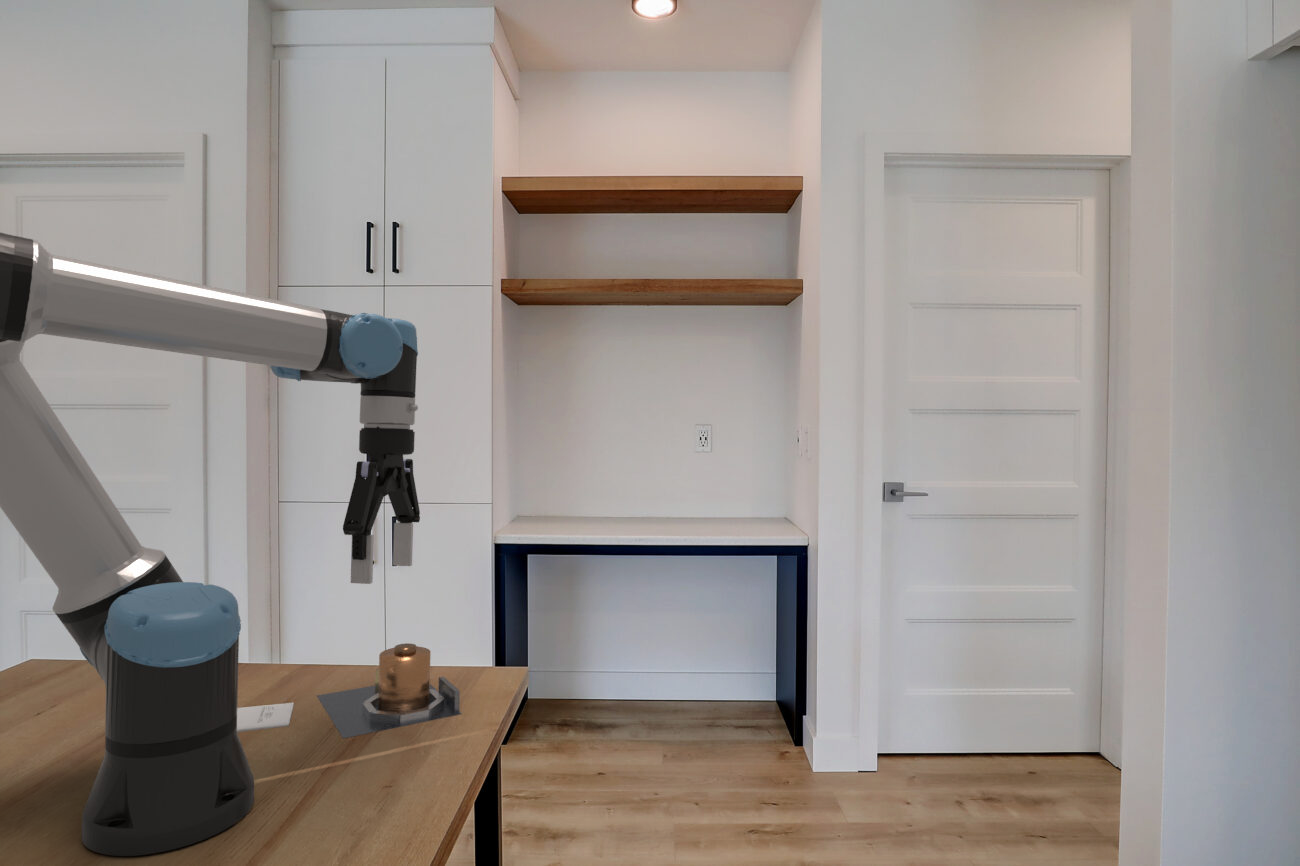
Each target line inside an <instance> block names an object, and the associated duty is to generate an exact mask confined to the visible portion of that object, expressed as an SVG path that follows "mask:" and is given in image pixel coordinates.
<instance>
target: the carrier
mask: <svg viewBox="0 0 1300 866" xmlns="http://www.w3.org/2000/svg"><path fill="white" fill-rule="evenodd" d="M374 672H375V674H374V675H375V676H374V677H375V678H374V681H375V683H374V685H371V686H365V687H364V686H363V687H359V688H358V687H357V688H353V689H346V690H341V691H340V690H339V691H336V692H335V691H334V692H329V693H325V694H316V697H317V698H318V700H319V702H320V704H321V705H322V706H323V708H324V710H325V712H326V713H327V715H328V717H329V718H330V719H331V721H332V722H333V724H334V727H335V728H336V730H337V731H338V733H339V734H340V735H341V737H342V739H348V738H352V737H353V738H354V737H358V736H361V735H362V736H363V735H367V734H368V735H369V734H371V733H373V734H374V733H377V732H381V731H388V730H391V729H397V728H401V727H406V726H411V725H416V724H420V723H426V722H430V721H436V720H440V719H444V718H450V717H455V716H459V715H463V713H462V712H461V711H460V702H461V701H460V697H461V696H460V694H461V693H460V691H461V690H459V689H458V687H456V686H455V685H454V684H453V683H451V681H449V680H448V679H447V678H446V677H445V676H439V677H438V690H437V689H436V688H435V687H434V686H433V685H432V684H431V683H430V693H429V705H428V706H427V707H426V708H422V709H417V710H412V711H406V712H401V713H397V712H387V711H378V694H379V668H377V669H376V670H375V671H374Z"/></svg>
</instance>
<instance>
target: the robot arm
mask: <svg viewBox="0 0 1300 866" xmlns="http://www.w3.org/2000/svg"><path fill="white" fill-rule="evenodd" d="M37 335H47V336H56V337H62V338H69V339H77V340H83V341H91V342H97V343H105V344H110V345H111V344H112V345H113V344H114V345H118V346H119V345H120V346H125V347H127V346H128V347H133V348H142V349H149V350H157V351H162V352H163V351H164V352H170V353H178V354H185V355H193V356H200V357H207V358H214V359H221V360H228V361H237V362H245V363H252V364H257V365H264V366H265V365H266V366H270V370H271V371H272V373H273V374H274V375H275V376H276V377H278V378H281V379H287V380H296V381H298V382H301V381H314V382H329V383H350V384H360V395H359V396H360V401H359V402H360V403H359V405H360V406H359V423H360V424H361V425H362V424H363V427H362V428H360V429H359V442H358V450H359V452H360V453H361V454H363V455H368V456H369V457H368V461H357V463H356V468H355V476H354V477H355V479H354V482H353V484H352V485H353V487H352V490H351V493H350V494H351V495H350V498H349V502H348V506H347V510H346V514H345V517H344V522H343V525H342V530H343V535H345V536H351V555H350V557H351V558H350V559H351V561H350V562H351V563H350V584H361V585H362V584H363V585H365V584H367V585H368V584H369V585H371V584H373V578H374V577H373V575H374V574H373V573H374V571H373V570H374V539H375V538H374V536H375V535H374V534H371V532H372V530H373V527H374V524H375V522H376V518H377V516H378V513H379V510H380V507H381V505H382V503H383V500H384V497H385V496H388V499H389V501H390V503H391V507H392V510H393V512H394V515H395V518H396V521H397V522H394V523H393V548H392V549H393V551H392V554H393V555H392V566H397V567H398V566H399V567H412V566H413V543H414V541H413V540H414V537H413V536H414V523H419V522H420V521H421V517H420V513H421V512H420V505H419V499H418V494H417V493H418V492H417V489H416V482H415V477H414V476H415V475H414V460H413V458H404V456H405V455H407V456H408V455H412V454H413V453H414V452H415V433H416V432H415V431H414V429H411V426H413V425H415V423H416V422H415V421H416V420H415V417H416V416H415V415H416V413H415V412H416V411H418V409H419V407H418V405H417V404H416V384H417V365H418V364H417V362H418V355H419V352H418V337H417V328H416V326H415V325H414V324H413V322H411V321H408V320H407V319H406V320H405V319H401V318H391V317H390V318H387V317H385V316H383V315H381V314H378V313H377V314H376V313H366V312H360V313H357V314H354V315H353V314H348V313H344V312H338V311H332V310H327V309H322V308H321V309H320V308H319V307H313V306H309V305H303V304H298V303H294V302H289V301H284V300H279V299H273V298H269V297H264V296H259V295H254V294H249V293H244V292H239V291H235V290H229V289H225V288H224V289H223V288H219V287H213V286H209V285H204V284H200V283H194V282H189V281H184V280H180V279H174V278H170V277H165V276H159V275H155V274H150V273H144V272H140V271H136V270H131V269H125V268H122V267H121V268H120V267H117V266H109V265H106V264H100V263H96V262H95V263H94V262H90V261H87V260H86V261H85V260H81V259H75V258H72V257H71V258H70V257H66V256H60V255H56V254H51V253H50V252H48V251H47V250H46V249H45V247H44V246H43V245H42V244H41V243H40V242H39V241H38V240H37V239H33V238H27V237H22V236H18V235H14V234H13V235H12V234H8V233H4V232H0V509H1V511H2V512H3V513H4V514H5V516H6V517H7V518H8V520H9V522H10V523H11V524H12V526H13V527H14V529H15V530H16V531H17V533H18V534H19V535H20V537H21V538H22V540H23V541H24V542H25V543H26V545H27V546H28V548H29V549H30V550H31V552H32V554H34V556H35V558H36V559H37V560H38V562H39V563H40V564H41V566H42V567H43V570H44V571H45V572H46V573H47V574H48V576H49V577H50V579H51V580H52V581H53V583H54V584H55V586H56V587H57V588H58V589H57V590H58V591H57V592H58V593H57V595H56V597H55V601H54V603H53V606H52V611H53V612H54V614H55V615H56V617H57V618H58V619H59V621H60V622H61V623H62V624H63V626H64V628H65V629H66V631H67V632H68V633H69V634H70V636H71V637H72V639H73V641H74V642H75V643H76V644H77V646H78V647H79V651H80V652H81V655H82V656H83V657H84V659H85V660H86V661H87V662H88V664H89V665H91V666H92V667H93V668H94V669H95V671H96V672H97V674H98V676H100V678H101V680H102V681H103V683H104V684H105V722H104V723H105V725H104V726H105V728H104V729H105V731H104V733H105V734H104V735H105V736H104V739H105V742H104V743H105V745H104V757H103V759H102V762H101V764H100V767H99V770H98V772H97V775H96V777H95V780H94V782H93V786H92V788H91V790H90V792H89V795H88V799H87V801H86V803H85V806H84V809H83V813H82V817H81V840H82V844H83V845H84V846H85V847H86V848H87V849H89V850H90V851H92V852H95V853H98V854H102V855H107V856H114V857H115V856H118V857H133V856H135V857H136V856H145V855H152V854H153V855H154V854H157V853H162V852H167V851H172V850H176V849H180V848H183V847H186V846H189V845H193V844H196V843H198V842H201V841H203V840H206V839H208V838H211V837H213V836H215V835H218V834H219V833H222V832H224V831H226V830H227V829H228V828H230V827H232V826H233V825H235V824H237V822H239V821H240V820H242V818H244V817H245V816H246V815H247V814H248V813H249V811H250V810H251V809H252V807H253V805H254V801H255V778H254V775H253V772H252V769H251V767H250V764H249V761H248V758H247V755H246V753H245V750H244V747H243V745H242V742H241V740H240V736H239V734H238V733H239V732H237V708H238V695H239V694H238V691H239V689H238V688H239V646H240V641H239V640H240V632H241V628H242V623H241V621H242V620H241V616H240V614H239V603H238V600H237V598H236V597H235V595H234V594H233V593H232V592H231V591H230V590H228V589H226V588H224V587H221V586H220V585H219V586H218V585H214V584H204V583H202V582H196V581H195V582H193V581H190V582H189V581H186V582H185V581H183V579H182V578H181V576H180V574H179V573H178V571H177V570H176V569H175V567H174V565H173V564H172V562H171V561H170V559H169V558H168V556H167V554H166V553H165V552H164V551H163V550H162V549H154V548H150V547H145V546H143V545H142V544H141V543H140V542H139V540H138V538H137V536H136V535H135V534H134V532H133V531H132V529H131V527H130V526H129V525H128V523H127V522H126V520H125V518H124V517H123V515H122V514H121V512H120V511H119V509H118V508H117V506H116V505H115V503H114V501H113V500H112V499H111V497H110V495H109V494H108V492H107V491H106V490H105V488H104V486H103V485H102V483H101V482H100V480H99V479H98V478H97V476H96V474H95V473H94V471H93V470H92V468H91V467H90V465H89V463H88V462H87V461H86V459H85V457H84V456H83V454H82V453H81V451H80V450H79V448H78V447H77V445H76V444H75V442H74V441H73V439H72V437H71V436H70V434H69V432H68V431H67V430H66V428H65V427H64V426H63V423H62V421H60V419H59V417H57V415H56V413H55V411H54V410H53V409H52V407H51V405H50V404H49V402H48V401H47V399H46V397H45V396H44V395H43V393H42V392H41V391H40V389H39V387H38V385H37V384H36V383H35V381H34V379H33V378H32V377H31V375H30V373H29V372H28V371H27V369H26V367H25V366H24V364H23V363H22V361H21V359H20V354H21V353H22V349H23V348H24V345H25V343H26V341H28V340H30V339H31V338H33V337H35V336H37Z"/></svg>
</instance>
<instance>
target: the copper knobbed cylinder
mask: <svg viewBox="0 0 1300 866" xmlns="http://www.w3.org/2000/svg"><path fill="white" fill-rule="evenodd" d="M378 662H379V663H378V666H379V667H378V669H379V694H378V711H387V712H397V713H401V712H406V711H412V710H417V709H422V708H426V707H427V706H428V705H429V693H430V684H431V649H429V648H426V647H424V646H419V645H416V644H415V643H406V642H405V643H400V644H397V645H395V646H394V647H392V648H389V649H385V650H383V651H381V652H380V653H379V658H378Z"/></svg>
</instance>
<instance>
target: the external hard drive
mask: <svg viewBox="0 0 1300 866" xmlns="http://www.w3.org/2000/svg"><path fill="white" fill-rule="evenodd" d="M294 707H295V702H286V703H274V704H266V705H265V704H264V705H256V706H255V705H253V706H246V707H245V706H243V707H237V733H240V732H247V731H256V730H257V731H258V730H265V729H267V730H268V729H273V728H274V729H275V728H284V727H290V722H291V718H292V714H293V710H294Z"/></svg>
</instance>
